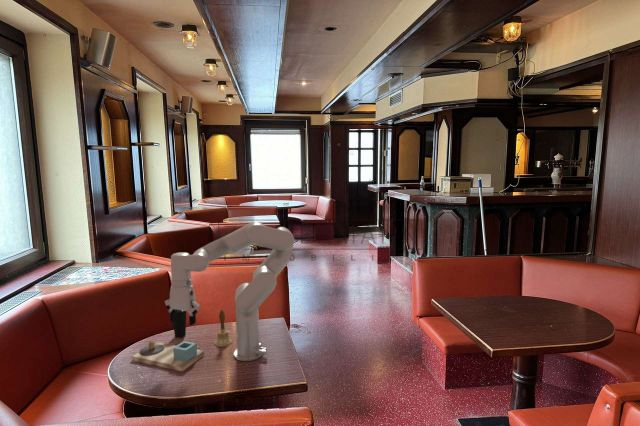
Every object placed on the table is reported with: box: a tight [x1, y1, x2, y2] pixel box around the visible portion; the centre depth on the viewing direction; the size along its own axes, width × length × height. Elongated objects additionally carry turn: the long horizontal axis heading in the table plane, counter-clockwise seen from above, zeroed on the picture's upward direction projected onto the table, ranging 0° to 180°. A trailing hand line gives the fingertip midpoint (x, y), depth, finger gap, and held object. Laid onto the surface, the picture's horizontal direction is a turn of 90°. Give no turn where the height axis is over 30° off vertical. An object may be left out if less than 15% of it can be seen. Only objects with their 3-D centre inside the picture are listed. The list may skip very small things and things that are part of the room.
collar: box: [173, 340, 198, 362], centre depth 157 cm, size 7×7×5 cm
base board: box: [131, 340, 205, 372], centre depth 161 cm, size 27×14×6 cm, turn 70°
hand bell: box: [213, 309, 233, 348], centre depth 174 cm, size 8×8×16 cm
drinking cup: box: [172, 310, 188, 339], centre depth 181 cm, size 8×8×20 cm
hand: (183, 322), depth 156 cm, fingers open, 9 cm apart
